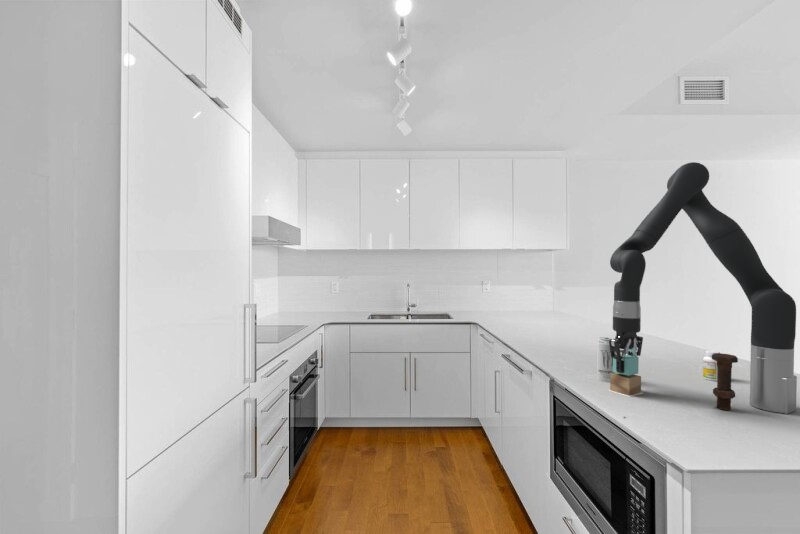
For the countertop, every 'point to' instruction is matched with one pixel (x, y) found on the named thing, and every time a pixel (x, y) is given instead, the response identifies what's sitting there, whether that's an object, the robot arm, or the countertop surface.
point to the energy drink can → (604, 360)
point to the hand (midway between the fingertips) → (625, 371)
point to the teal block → (628, 365)
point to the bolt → (724, 380)
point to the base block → (625, 384)
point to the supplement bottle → (710, 366)
